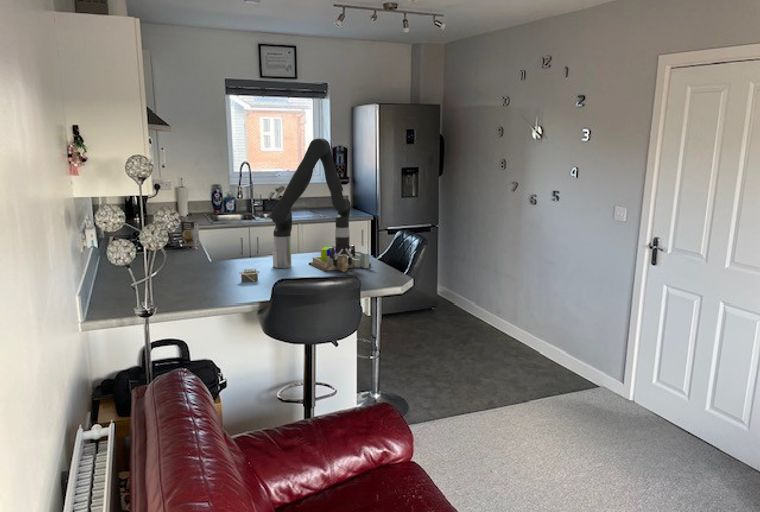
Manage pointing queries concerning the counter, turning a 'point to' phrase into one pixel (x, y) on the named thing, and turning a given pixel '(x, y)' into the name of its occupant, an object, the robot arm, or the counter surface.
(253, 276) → the wooden crate
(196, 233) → the coffee box
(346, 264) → the beige lumpy mound
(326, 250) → the puzzle toy
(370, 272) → the counter surface
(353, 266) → the lane rails
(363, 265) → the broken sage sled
